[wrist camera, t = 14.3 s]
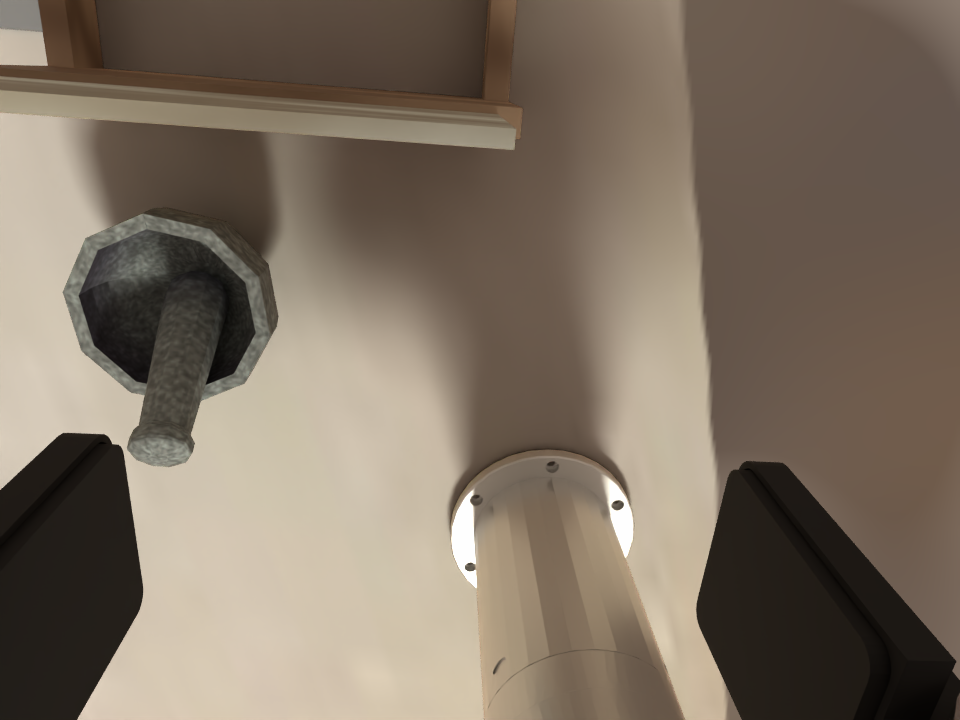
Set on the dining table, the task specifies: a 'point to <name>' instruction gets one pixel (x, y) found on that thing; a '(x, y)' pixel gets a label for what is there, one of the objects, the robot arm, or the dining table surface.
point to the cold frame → (257, 92)
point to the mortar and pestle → (171, 318)
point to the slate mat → (20, 15)
